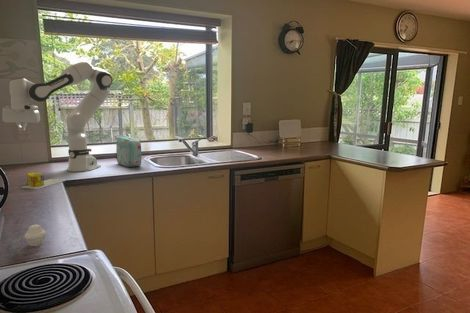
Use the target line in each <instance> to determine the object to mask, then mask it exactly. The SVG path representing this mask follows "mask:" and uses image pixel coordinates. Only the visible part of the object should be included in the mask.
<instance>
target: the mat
mask: <svg viewBox="0 0 470 313" xmlns="http://www.w3.org/2000/svg"><path fill="white" fill-rule="evenodd" d="M63 182H66V180H64V179H56V178H55V179H54V178H49V179H46V180H45V179H44V185H43V186H36V187H32V186H31V185H29V184H27V185H24V186H20V188H21V189H28V190H29V189H31V190H39V189H42V188H46V187H49V186H53V185H57V184H60V183H63Z"/></svg>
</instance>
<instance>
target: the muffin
mask: <svg viewBox="0 0 470 313" xmlns="http://www.w3.org/2000/svg"><path fill="white" fill-rule="evenodd" d="M46 235H47V232H46V230H44V229H43V228H42V226H41V225H40V224H32V225H30V226H29V227H28V230H27V231H26V233H25V234H24V240H25V242H27V243H28V245H29V246H31V247H32V246H36V247H38V246H37V245H39V246H41V245H42V244H43V242H44V241H45V238H46ZM40 244H41V245H40Z"/></svg>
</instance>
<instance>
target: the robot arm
mask: <svg viewBox="0 0 470 313" xmlns="http://www.w3.org/2000/svg"><path fill="white" fill-rule="evenodd" d="M85 80H88V81H89V82H91V83H92V84H93V86H92V88H91V89H90V90H89V92H88V93H87V94H86V95H85V96H84V97H83V98H82V99H81V101H80V102H79V103H78V105H77V106H76V107H75V109H73V111H72V112H70V113H68V115H67V116H66V128H67V137H68V138H67V139H68V156H69V157H68V163H67V165H68V167H67V171H69V172H86V171H87V172H89V171H93V170H95V169H98V168H101V167H102V165H100V164H98V160H97V158H96V157H94V156H93V155H92V154H90V153H91V152H92V151H93V150H92V148H88V145H87V144H88V142H87V141H88V140H87V133H86V125H87V123H88V122H89V121H90V120H91V118H92V117H93V115H94V114H95V113H96V112H97V110H99V109H100V107H101V106H102V105H103V104H104V102H105V101H106V100H107V98H108V96H109V94H110V88H111V86H112V83H113V76H112V74H111V73H110V72H108V71H106V70H105V69H103V68H100V67H97V66H93V65H92V64H91V63H90V62H89V61H87V60H86V61H85V60H84V61H80V62H77V63H74V64H72V65H69V66H68V67H66V68H64V69H63V70H62V71H61V72H60V74H59V75H58V76H57V77H55V78H54V79H52V80H49V81H47V82H44V83H40V82H39V83H35V82H32V81H31V80H30V81H29V80H28V79H27V78H24V77H18V78H17V77H16V78H11V80H10V81H9V94H10V105H9V106H8V105H7V106H4V107H3V108H1V109H2V110H1V111H2V114H1V116H2V118H1V119H2V122H3V123H16V124H15V125H16V126H17V127H18V131H26V130H27V126H28V123H29V124H30V123H33V124H37V123H40V122H41V115H40V111H39V106H37V105H35V104H33V103H30V102H29V100H31V101H36V102H39V103H40V102H46V101H47V100H48V99H49V98H50V97H51V95H52V94H53V93H55V92H57V91H59V90H61V89H63V88H65V87H69V86H74V85H77V84H79V83H81V82H84V81H85ZM21 124H22V125H21Z"/></svg>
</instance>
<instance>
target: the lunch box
mask: <svg viewBox="0 0 470 313" xmlns="http://www.w3.org/2000/svg"><path fill="white" fill-rule="evenodd" d="M115 145H116V147H115V148H116V153H115V159H116V162H117V164H119V165H121V166H123V167H126V168H127V167H128V168H133V167H134V168H135V167H140V166H141V165H142V143H141V140H139V139H137V138H134V137H130V136H129V135H124V136H118V138H117V139H116V144H115Z"/></svg>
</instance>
